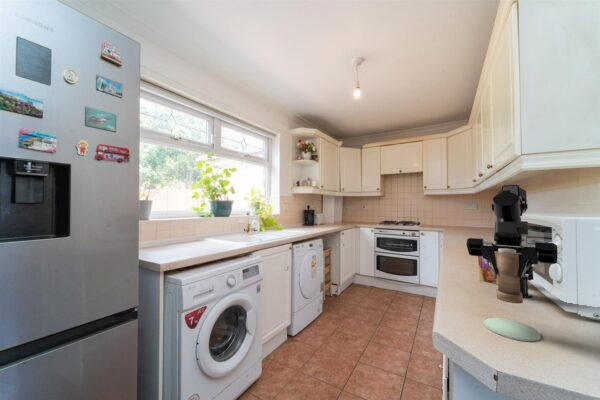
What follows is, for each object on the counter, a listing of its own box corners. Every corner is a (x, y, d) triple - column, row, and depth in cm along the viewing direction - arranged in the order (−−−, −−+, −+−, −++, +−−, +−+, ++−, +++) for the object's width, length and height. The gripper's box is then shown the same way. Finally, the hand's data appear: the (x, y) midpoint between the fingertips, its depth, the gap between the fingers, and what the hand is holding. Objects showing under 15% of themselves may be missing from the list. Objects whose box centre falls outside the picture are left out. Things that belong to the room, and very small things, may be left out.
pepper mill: (510, 295, 66) (508, 247, 66) (528, 303, 61) (526, 251, 61) (491, 296, 66) (489, 247, 66) (507, 303, 61) (505, 251, 61)
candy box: (509, 284, 97) (507, 246, 97) (503, 286, 95) (501, 247, 95) (484, 278, 105) (482, 243, 105) (478, 280, 103) (476, 244, 103)
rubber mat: (513, 319, 68) (513, 317, 68) (554, 341, 57) (554, 338, 57) (474, 319, 68) (474, 318, 68) (507, 341, 57) (507, 339, 57)
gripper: (466, 211, 73) (460, 252, 65) (554, 211, 61) (561, 262, 52) (471, 234, 79) (466, 275, 70) (554, 239, 66) (560, 289, 58)
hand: (507, 275), depth 63 cm, fingers closed on pepper mill, 4 cm apart
